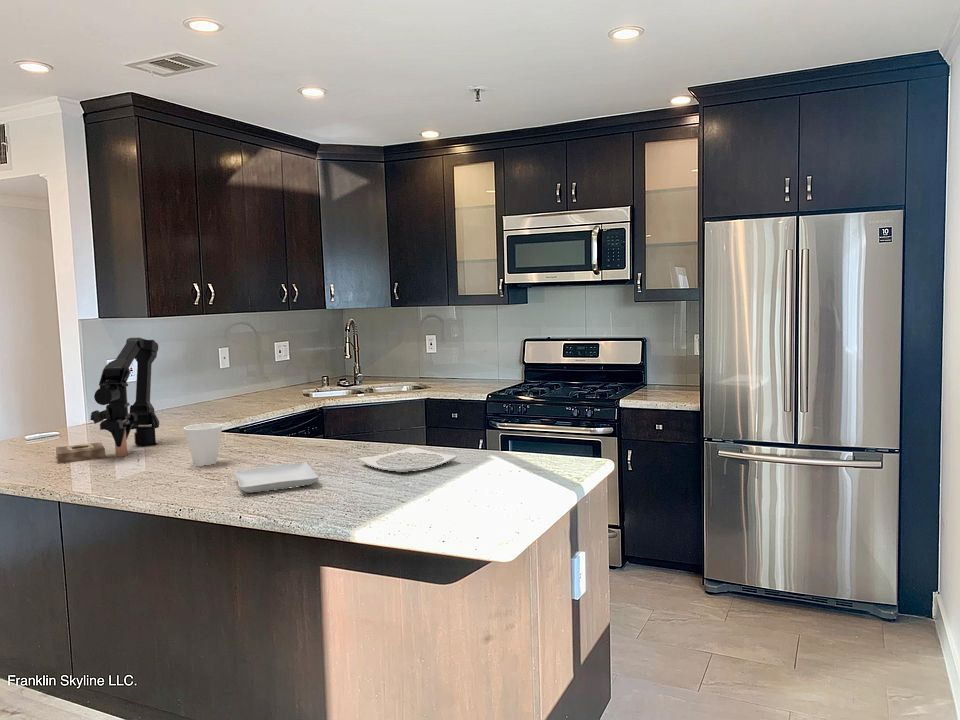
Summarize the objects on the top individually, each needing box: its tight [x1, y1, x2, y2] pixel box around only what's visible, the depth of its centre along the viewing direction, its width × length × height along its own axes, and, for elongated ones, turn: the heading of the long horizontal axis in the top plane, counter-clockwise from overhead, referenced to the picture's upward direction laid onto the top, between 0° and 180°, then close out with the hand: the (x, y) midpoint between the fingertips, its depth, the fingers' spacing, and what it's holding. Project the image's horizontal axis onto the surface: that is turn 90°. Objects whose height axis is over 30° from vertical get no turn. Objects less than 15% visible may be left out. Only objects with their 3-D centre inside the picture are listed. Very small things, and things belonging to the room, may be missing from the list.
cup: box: [183, 422, 223, 467], centre depth 229 cm, size 12×12×12 cm
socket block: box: [55, 441, 106, 464], centre depth 246 cm, size 14×14×4 cm
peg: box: [114, 430, 128, 458], centre depth 246 cm, size 4×4×9 cm
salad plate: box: [233, 461, 320, 494], centre depth 202 cm, size 21×21×3 cm
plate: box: [358, 446, 458, 473], centre depth 222 cm, size 24×24×3 cm
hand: (120, 445), depth 246 cm, fingers closed on peg, 4 cm apart
